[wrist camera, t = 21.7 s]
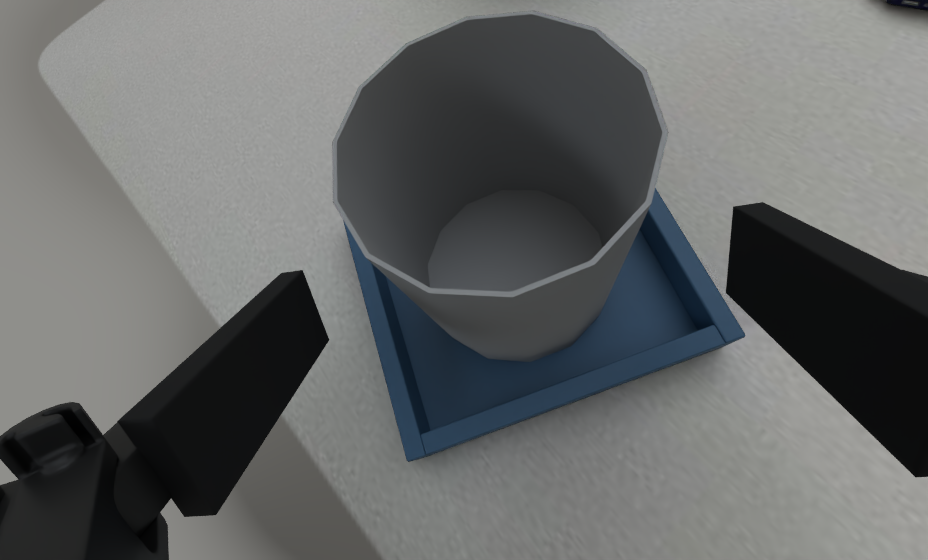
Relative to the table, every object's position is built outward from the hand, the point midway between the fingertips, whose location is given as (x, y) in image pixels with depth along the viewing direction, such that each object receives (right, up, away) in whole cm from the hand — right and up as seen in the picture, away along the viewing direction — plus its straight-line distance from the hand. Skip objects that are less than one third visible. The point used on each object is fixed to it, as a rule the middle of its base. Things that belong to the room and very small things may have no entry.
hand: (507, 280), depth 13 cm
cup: (+1, 0, +7) cm, 7 cm away
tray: (+1, 0, +7) cm, 7 cm away
